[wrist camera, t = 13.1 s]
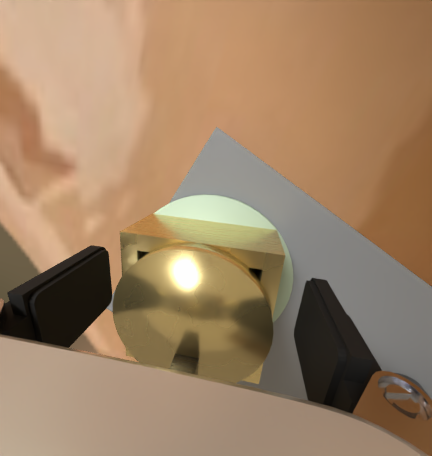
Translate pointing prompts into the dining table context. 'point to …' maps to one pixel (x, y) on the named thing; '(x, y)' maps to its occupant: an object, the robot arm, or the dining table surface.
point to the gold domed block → (198, 295)
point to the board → (311, 264)
